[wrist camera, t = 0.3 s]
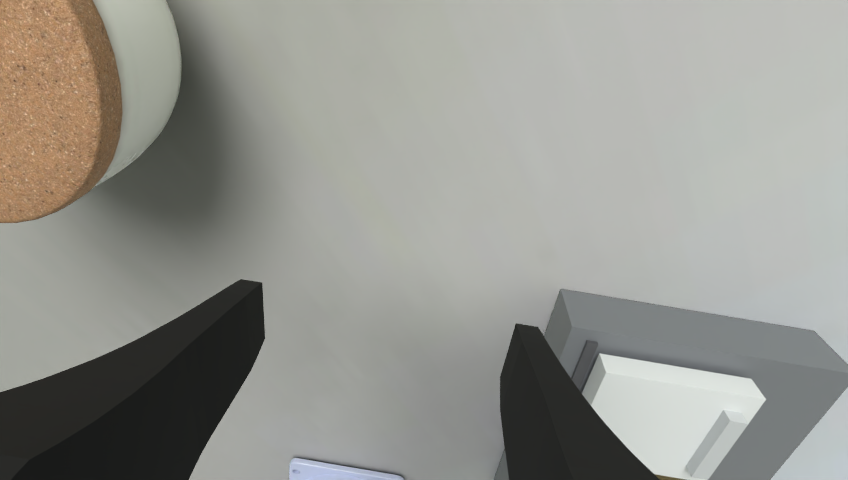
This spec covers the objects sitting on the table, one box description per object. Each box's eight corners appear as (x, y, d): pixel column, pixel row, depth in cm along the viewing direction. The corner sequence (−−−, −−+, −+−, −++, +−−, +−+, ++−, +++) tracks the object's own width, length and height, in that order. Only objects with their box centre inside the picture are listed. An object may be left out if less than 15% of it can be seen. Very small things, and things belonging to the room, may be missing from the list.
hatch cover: (695, 461, 24) (711, 494, 22) (562, 438, 24) (568, 470, 22) (751, 379, 21) (774, 410, 19) (599, 353, 21) (609, 382, 19)
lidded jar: (280, 66, 19) (140, 123, 11) (127, 191, 23) (-65, 304, 15) (68, -213, 16) (-382, -436, 7) (-76, -10, 19) (-485, -8, 11)
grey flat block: (674, 524, 32) (693, 576, 29) (489, 493, 32) (491, 541, 29) (814, 331, 23) (861, 377, 20) (560, 288, 23) (572, 329, 21)
